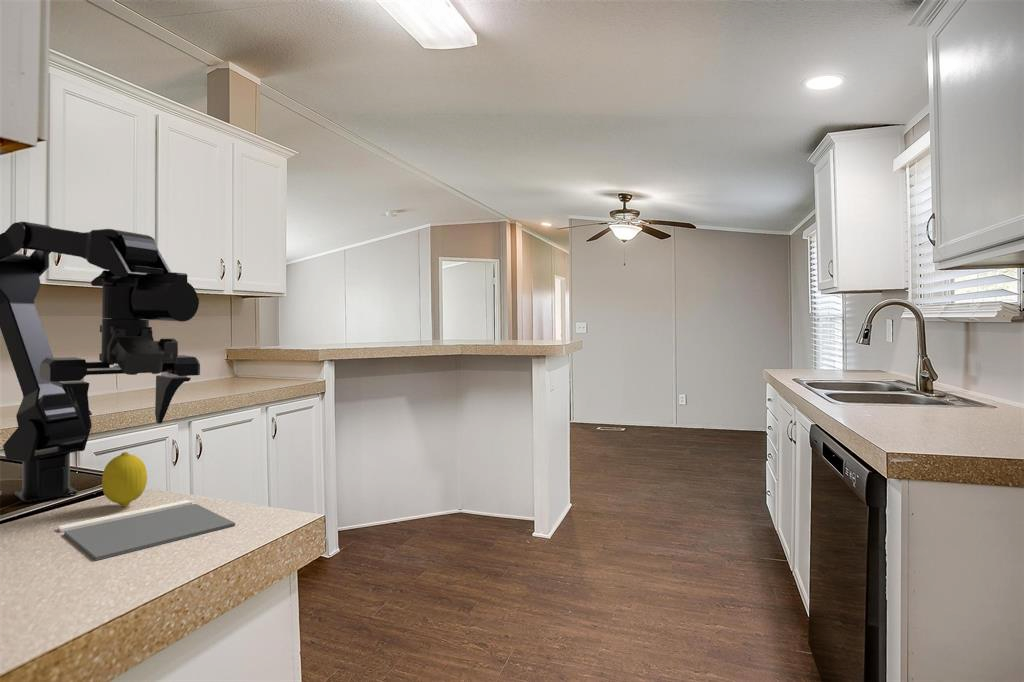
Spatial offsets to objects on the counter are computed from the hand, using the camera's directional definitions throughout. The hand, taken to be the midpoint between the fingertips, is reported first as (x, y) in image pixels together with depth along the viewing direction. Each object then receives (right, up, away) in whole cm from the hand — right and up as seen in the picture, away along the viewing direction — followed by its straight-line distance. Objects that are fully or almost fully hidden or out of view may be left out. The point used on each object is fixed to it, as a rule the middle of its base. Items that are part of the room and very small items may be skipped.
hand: (124, 426), depth 86 cm
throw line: (+3, -12, -3) cm, 13 cm away
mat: (+9, -12, -8) cm, 17 cm away
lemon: (0, -12, +1) cm, 12 cm away
